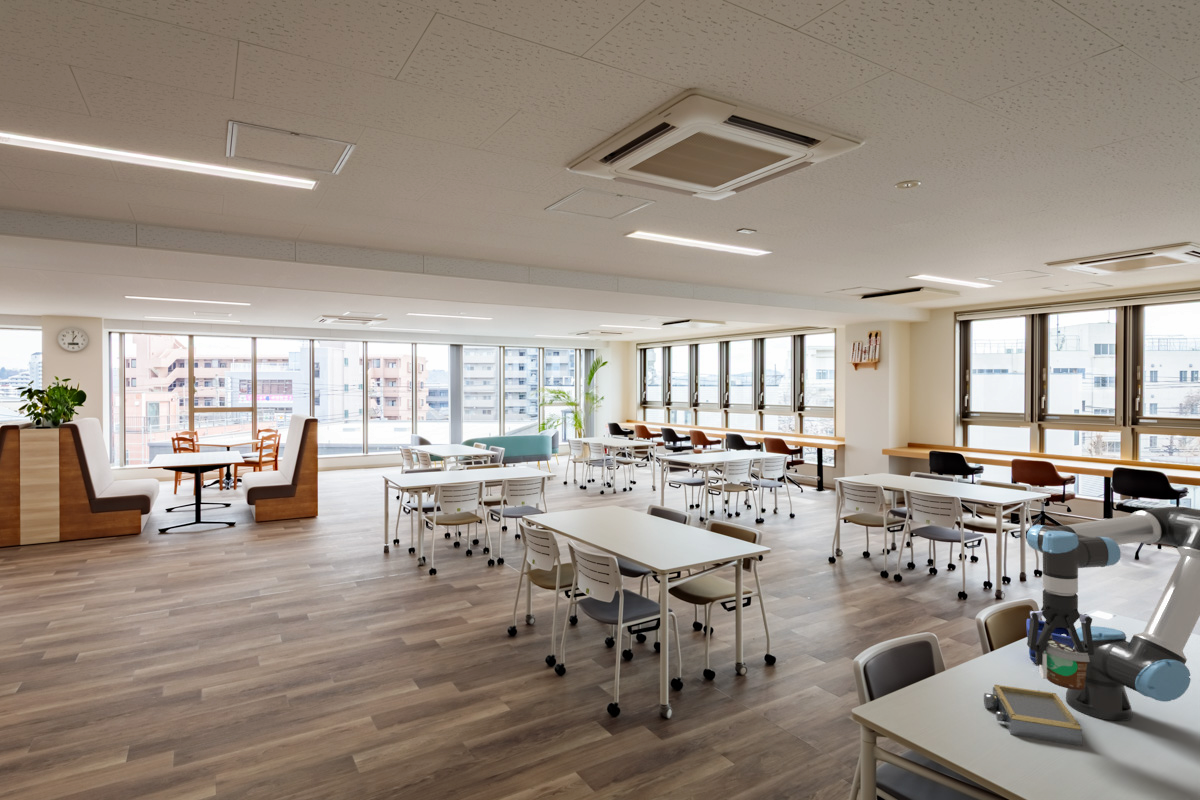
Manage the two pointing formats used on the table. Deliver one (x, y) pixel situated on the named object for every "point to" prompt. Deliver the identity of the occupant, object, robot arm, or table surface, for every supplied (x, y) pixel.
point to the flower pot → (1055, 635)
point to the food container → (1065, 665)
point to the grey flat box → (1034, 714)
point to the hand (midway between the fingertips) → (1060, 678)
